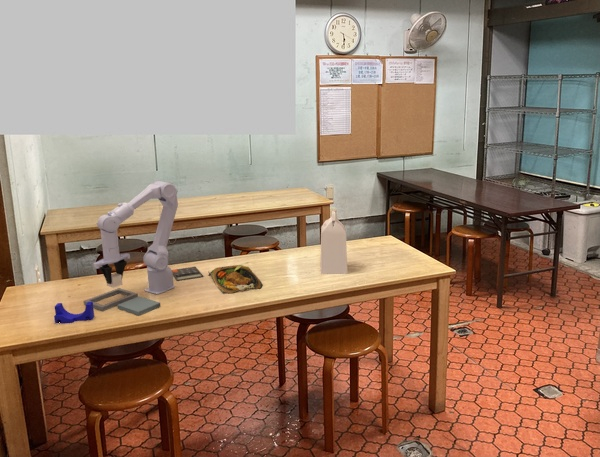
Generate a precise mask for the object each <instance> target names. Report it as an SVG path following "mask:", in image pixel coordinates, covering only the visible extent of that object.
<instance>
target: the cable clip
mask: <svg viewBox="0 0 600 457" xmlns="http://www.w3.org/2000/svg"><path fill="white" fill-rule="evenodd" d="M94 309H95V308H93V302H88V303H87V304H86V305H85V307H84V311H83V312H80V313H71V312H69V311H68V310H66V309H65V307H64V306H63V303H62V302H58V303H57V304H56V305H54V312H55V315H54V316H53V318H54V323H59V322H60V323H61V324H73V323H75V322H82V321H83V322H84V321H93V319H94V318H95V310H94Z"/></svg>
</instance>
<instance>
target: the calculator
mask: <svg viewBox="0 0 600 457" xmlns="http://www.w3.org/2000/svg"><path fill="white" fill-rule="evenodd" d="M171 270H172V273H173V279H175V280H174V281H175V282H180V281H187V280H192V279H193V280H194V279H201V278H204V274H203V273H202V272H201V271H200V270H199V269H198V268H197V267H196V266H189V267H188V266H187V267H185V268H184V267H183V268H177V269H175V268H174V269H171Z"/></svg>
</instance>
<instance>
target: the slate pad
mask: <svg viewBox="0 0 600 457" xmlns="http://www.w3.org/2000/svg"><path fill="white" fill-rule="evenodd" d="M116 307H117V309H118V310H121V311H124V312H126V313H129V314H132V315H136V316H138V317H139V316H142V315H144V314H146V313H148V312H151V311H154V310H155V309H158V308H160V307H161V302H159V301H156V300H152V299H149V298H146V297H142V296H140V295H138V297H136V298H134V299H131V300H128V301H126V302H123V303H121V304H118V305H117V306H116Z"/></svg>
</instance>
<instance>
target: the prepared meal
mask: <svg viewBox="0 0 600 457" xmlns="http://www.w3.org/2000/svg"><path fill="white" fill-rule="evenodd" d="M208 276H211V278H212V280H213V281H214V283H215V285H216V287H217V288H219V290H220V292H221V293H222V294H228V295H230V294H235V293H240V292H244V291H247V290H249V289H262V288H263V286H264V284H263V282H262V281H261V279H260V278H259V277H258V276H257V275H256V274H255V273H254V272H253V270H252V269H251V268H250V267H249V266H245V265H243V264H236V265H235V264H234V265H230V266H219V267H215V268H214V269H212V270H211V271H210V270H208ZM245 285H246V286H247V287H246V286H245ZM237 286H242V289H240V288H239V287H237ZM244 287H245V288H244ZM243 288H244V289H243Z"/></svg>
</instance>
